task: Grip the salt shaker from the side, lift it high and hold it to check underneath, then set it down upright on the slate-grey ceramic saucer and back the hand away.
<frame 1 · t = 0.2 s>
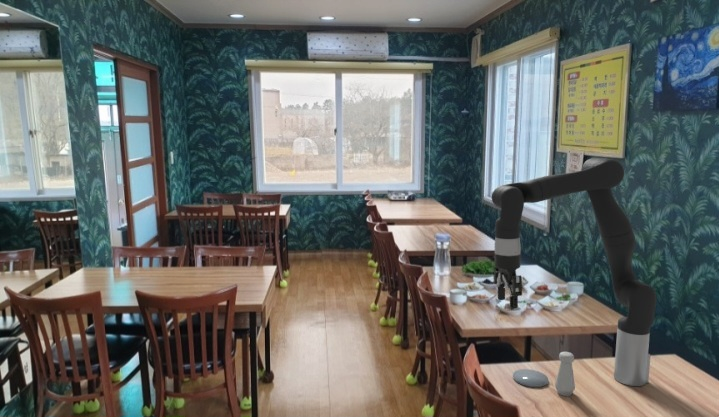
hand: (507, 303, 153), 29 cm above the table, tool pointing down, fingers open, 8 cm apart
salt shaker: (564, 393, 156), on the table
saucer: (530, 379, 164), on the table
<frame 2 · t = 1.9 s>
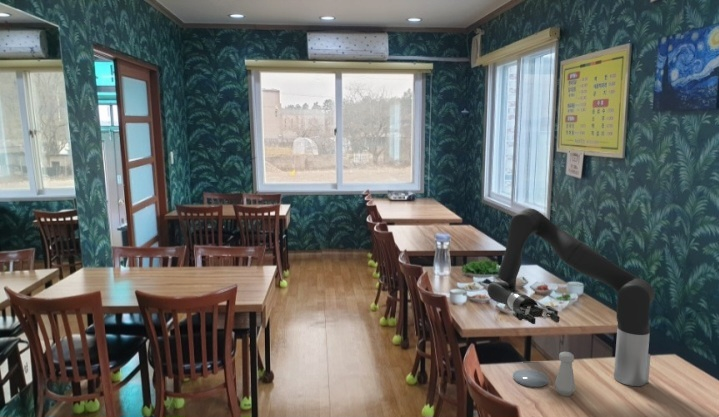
hand: (546, 320, 165), 19 cm above the table, tool horizontal, fingers open, 8 cm apart
nothing on the table moved.
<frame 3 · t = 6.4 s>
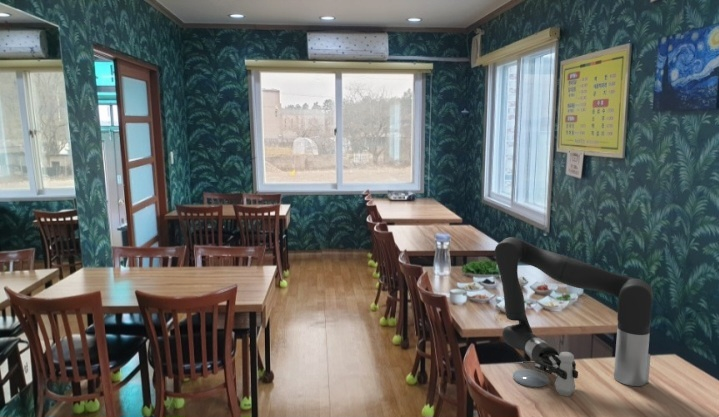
hand: (571, 375, 152), 7 cm above the table, tool horizontal, fingers closed on salt shaker, 3 cm apart
salt shaker: (564, 393, 156), on the table, touching gripper
when the fingers open (9 cm above the table, at t = 12.3 s): salt shaker drops 1 cm, resting on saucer.
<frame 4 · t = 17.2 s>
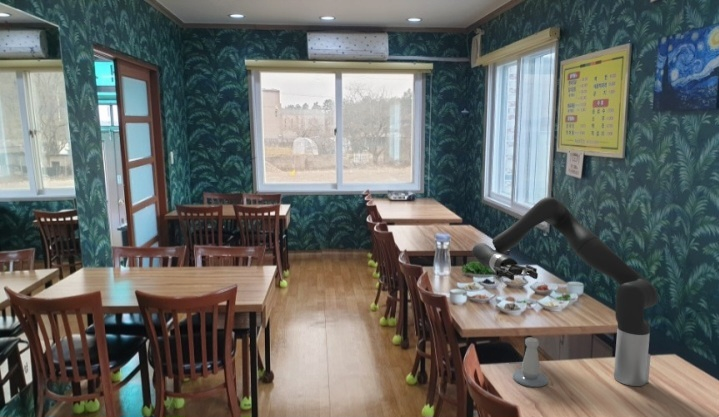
hand: (524, 276, 170), 32 cm above the table, tool horizontal, fingers open, 8 cm apart
salt shaker: (530, 377, 164), point 1 cm above the table, touching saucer
at the end: salt shaker 0.1 cm off-centre on the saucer, point 0.8 cm above the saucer's base; salt shaker tilted 0°; the gripper is holding nothing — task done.
